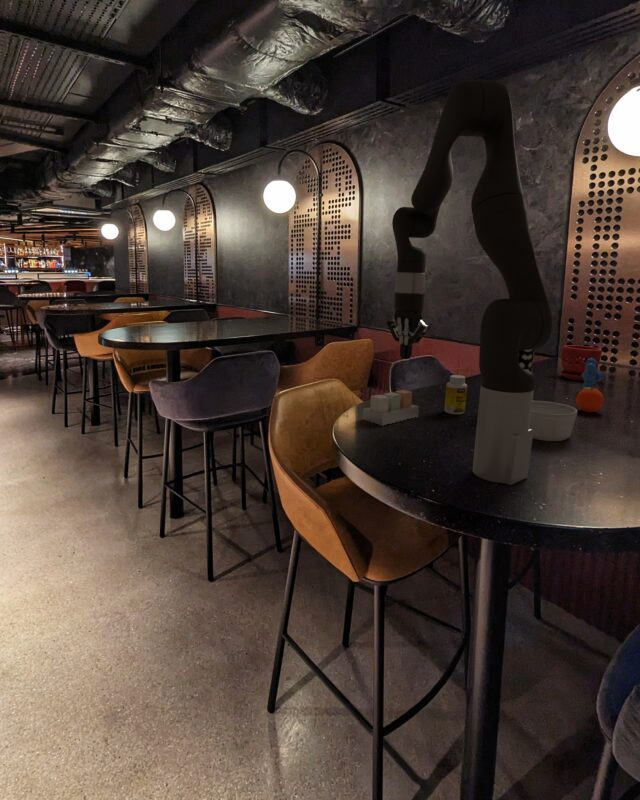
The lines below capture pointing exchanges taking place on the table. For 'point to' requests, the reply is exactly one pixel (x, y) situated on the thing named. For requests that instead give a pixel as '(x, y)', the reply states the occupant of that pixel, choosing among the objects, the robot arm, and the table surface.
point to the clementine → (589, 399)
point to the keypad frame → (390, 415)
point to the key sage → (393, 400)
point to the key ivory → (379, 403)
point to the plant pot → (577, 360)
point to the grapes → (591, 374)
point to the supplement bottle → (455, 395)
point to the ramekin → (551, 420)
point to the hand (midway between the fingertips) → (405, 358)
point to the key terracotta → (405, 398)
